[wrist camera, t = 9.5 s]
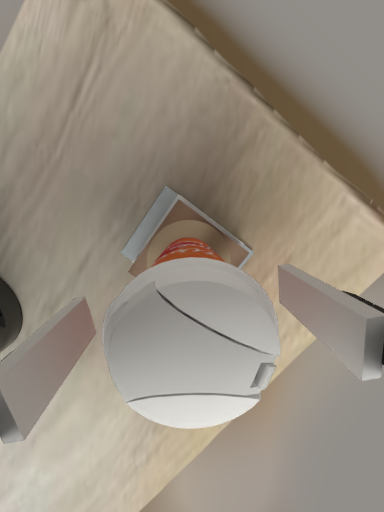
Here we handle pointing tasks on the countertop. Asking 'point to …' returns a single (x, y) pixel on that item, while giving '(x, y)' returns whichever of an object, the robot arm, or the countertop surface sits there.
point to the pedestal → (182, 226)
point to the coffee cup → (191, 339)
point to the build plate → (155, 220)
